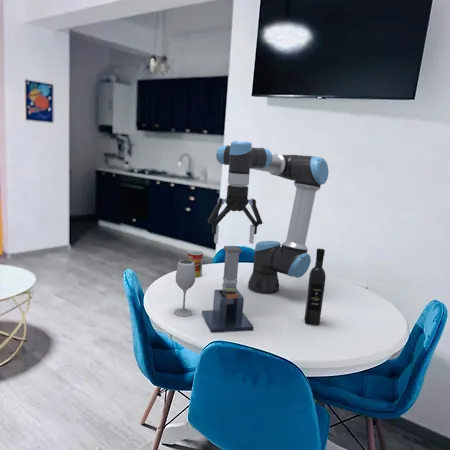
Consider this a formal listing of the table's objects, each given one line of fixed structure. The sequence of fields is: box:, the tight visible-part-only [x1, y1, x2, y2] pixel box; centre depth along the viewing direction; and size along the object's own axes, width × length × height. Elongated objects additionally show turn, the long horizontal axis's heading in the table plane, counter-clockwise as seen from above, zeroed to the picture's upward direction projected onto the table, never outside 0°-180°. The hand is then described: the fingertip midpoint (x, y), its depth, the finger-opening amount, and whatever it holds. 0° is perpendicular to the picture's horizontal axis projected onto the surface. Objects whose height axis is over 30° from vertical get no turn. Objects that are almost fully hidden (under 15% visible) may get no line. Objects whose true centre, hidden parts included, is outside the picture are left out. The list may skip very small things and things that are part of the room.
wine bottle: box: [303, 248, 326, 327], centre depth 157 cm, size 6×6×30 cm
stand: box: [201, 288, 255, 334], centre depth 153 cm, size 16×16×13 cm
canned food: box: [186, 249, 204, 279], centre depth 204 cm, size 8×8×12 cm
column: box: [221, 245, 242, 304], centre depth 150 cm, size 5×5×21 cm
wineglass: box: [173, 259, 196, 317], centre depth 157 cm, size 8×8×21 cm
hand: (233, 242), depth 148 cm, fingers open, 13 cm apart
